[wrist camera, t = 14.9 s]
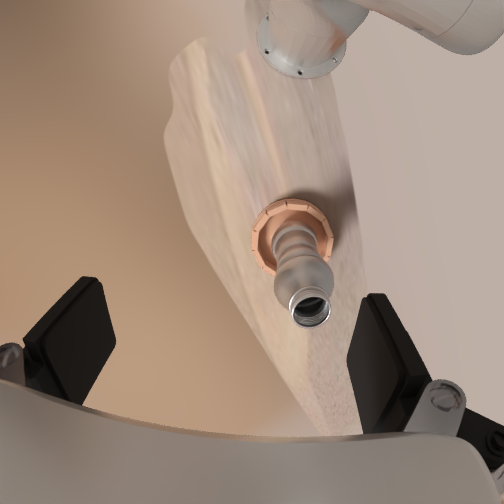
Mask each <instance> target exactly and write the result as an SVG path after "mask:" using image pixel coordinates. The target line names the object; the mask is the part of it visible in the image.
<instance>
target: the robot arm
mask: <svg viewBox="0 0 504 504" xmlns="http://www.w3.org/2000/svg"><path fill="white" fill-rule="evenodd" d="M369 10H374V11H376V12H378V13H380V14H382V15H384V16H386V17H389V18H391V19H393V20H395V21H397V22H399V23H400V24H402V25H404V26H406V27H408V28H410V29H412V30H413V31H415V32H417V33H419V34H420V35H422V36H424V37H425V38H427V39H429V40H431V41H432V42H434V43H436V44H438V45H439V46H441V47H443V48H445V49H447V50H449V51H451V52H454V53H457V54H461V55H472V54H477V53H480V52H482V51H483V50H485V49H487V48H489V47H490V46H491V45H492V44H494V43H495V42H496V41H497V40H498V38H500V36H501V35H502V34H503V33H504V0H269V12H268V13H267V14H266V15H265V17H264V18H263V19H262V21H261V23H260V25H259V27H258V32H257V42H258V47H259V49H260V52H261V54H262V56H263V57H264V59H265V60H266V61H267V62H268V63H269V65H270V66H272V67H273V68H274V69H276V70H277V71H279V72H281V73H283V74H285V75H287V76H290V77H294V78H300V79H311V78H317V77H320V76H323V75H326V74H327V73H329V72H331V71H332V70H333V69H335V68H336V67H337V66H338V65H339V64H340V62H341V61H342V59H343V57H344V55H345V51H346V39H347V38H348V37H349V36H350V35H351V34H352V33H353V32H354V31H355V30H356V29H357V28H358V27H359V25H360V24H361V23H362V22H363V21H364V20H365V18H366V17H367V15H368V13H369ZM268 19H269V21H268ZM266 51H268V52H269V53H268V54H266V53H265V52H266ZM333 59H334V60H336V62H333ZM298 72H301V73H302V74H301V75H299V74H298ZM23 342H24V344H25V347H24V348H22V347H21V346H20V345H19V344H17V343H12V342H11V343H6V344H4V345H1V346H0V504H504V426H503V425H501V424H498V423H496V422H494V421H492V420H490V419H488V418H486V417H484V416H482V415H480V414H478V413H476V412H474V411H472V410H470V409H467V408H466V397H465V394H464V392H463V390H462V389H461V388H460V387H459V386H458V385H457V384H455V383H453V382H451V381H448V380H441V379H440V380H439V379H438V380H434V381H432V379H431V377H430V375H429V372H428V371H427V368H426V366H425V365H424V362H423V361H422V359H421V357H420V355H419V353H418V351H417V349H416V347H415V345H414V344H413V341H412V340H411V338H410V336H409V334H408V332H407V331H406V330H405V328H404V326H403V325H402V323H401V321H400V319H399V317H398V316H397V314H396V312H395V310H394V309H393V307H392V305H391V303H390V302H389V300H388V298H387V296H386V295H385V294H383V293H381V294H380V293H370V294H368V295H367V297H364V298H363V299H362V301H361V305H360V309H359V313H358V317H357V321H356V325H355V329H354V333H353V336H352V340H351V343H350V347H349V350H348V354H347V367H348V371H349V375H350V379H351V383H352V387H353V391H354V395H355V399H356V403H357V408H358V412H359V416H360V421H361V425H362V430H363V434H361V435H347V436H322V437H269V436H249V435H248V436H247V435H236V434H224V433H214V432H206V431H198V430H190V429H184V428H177V427H171V426H165V425H159V424H154V423H149V422H144V421H140V420H135V419H131V418H126V417H122V416H118V415H114V414H110V413H106V412H102V411H99V410H95V409H92V408H88V407H85V406H82V404H83V402H84V400H85V399H86V397H87V395H88V393H89V391H90V389H91V388H92V386H93V384H94V382H95V381H96V379H97V377H98V375H99V373H100V372H101V370H102V368H103V366H104V365H105V363H106V361H107V359H108V358H109V356H110V354H111V353H112V351H113V349H114V348H115V345H116V337H115V334H114V330H113V326H112V323H111V319H110V315H109V312H108V307H107V303H106V299H105V295H104V290H103V286H102V284H101V282H99V281H98V279H97V278H95V277H86V276H82V277H81V278H80V279H79V280H78V281H77V282H76V283H75V284H74V285H73V286H72V287H71V288H70V289H69V290H68V291H67V292H66V293H65V294H64V295H63V296H62V297H61V298H60V299H59V300H58V301H57V302H56V303H55V304H54V305H53V306H52V307H51V308H50V309H49V310H48V312H47V313H46V314H45V315H44V316H43V317H42V318H41V319H40V320H39V321H38V322H37V324H35V326H34V327H33V328H32V329H31V330H30V331H29V332H28V333H27V334H26V336H25V337H24V338H23Z"/></svg>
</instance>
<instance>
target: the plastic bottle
mask: <svg viewBox="0 0 504 504" xmlns="http://www.w3.org/2000/svg"><path fill="white" fill-rule="evenodd" d="M271 249H272V253H273V255H274V257H275V259H276V261H277V270H276V274H275V279H274V293H275V296H276V298H277V300H278V301H279V303H280V304H281V305H282V306H283V307H284V308H285V309H287V310H288V311H290V313H291V316H292V319H293V321H294V322H295V323H296V324H297V325H298V326H300V327H302V328H309V329H310V328H315V327H318V326H320V325H322V324H323V323H324V322H326V321H327V319H328V318H329V316H330V313H331V305H330V300H329V299H330V297H331V295H332V292H333V288H334V275H333V272H332V270H331V268H330V267H329V265H328V264H327V263H326V262H325V260H324V259H323V258H322V257H321V256H320V254H319V252H318V241H317V236H316V233H315V231H314V230H313V229H312V228H311V227H310V226H309V225H308V224H306V223H304V222H302V221H298V220H292V221H288V222H285V223H283V224H282V225H280V226H279V227H278V228H277V229H276V231H275V233H274V235H273V237H272V241H271Z"/></svg>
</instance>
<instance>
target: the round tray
mask: <svg viewBox="0 0 504 504" xmlns="http://www.w3.org/2000/svg"><path fill="white" fill-rule="evenodd" d="M292 220H298V221H302V222H304V223H306V224H308V225H309V226H310V227H311V228H312V229H313V230H314V231H315V233H316V236H317V241H318V252H319V254H320V256H321V257H322V258H323V259H324V260H325V262H327V261H328V260H329V258H330V257H329V256H331V251H332V246H333V240H334V238H333V234H332V231H331V229H330V226H329V223H328V221H327V219H326V217H325V216H324V214H323V213H322V212H321V211H320V209H319V208H317V207H316V206H315V205H313V204H312V203H310V202H308V201H305V200H302V199H296V198H289V199H282V200H279V201H276V202H274V203H272V204H270V205H269V206H267V207H266V208H265V209H264V210H263V211H262V212H261V213H260V214H259V216H258V217H257V219H256V221H255V223H254V226H253V231H252V252H253V254H254V256H255V258H256V260H257V262H258V264H259V266H260V267H262V269H263V270H264V271H266V272H267V273H269V274H271V275H272V276H274V277H275V274H276V270H277V261H276V259H275V257H274V255H273V253H272V249H271V241H272V237H273V235H274V233H275V231H276V229H277V228H278V227H279V226H280V225H282V224H283V223H285V222H288V221H292Z"/></svg>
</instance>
